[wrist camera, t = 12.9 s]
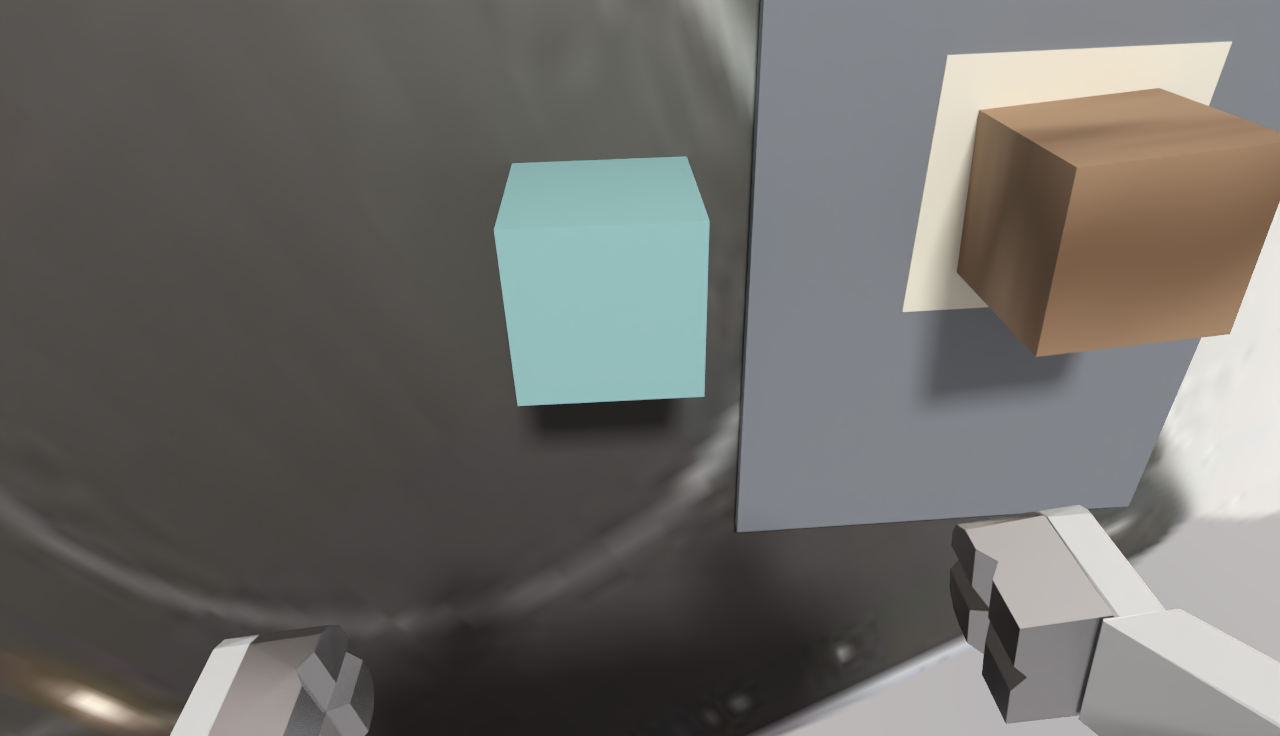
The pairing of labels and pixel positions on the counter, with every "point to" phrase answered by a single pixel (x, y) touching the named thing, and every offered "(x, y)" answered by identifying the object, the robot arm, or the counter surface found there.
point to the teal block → (604, 280)
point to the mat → (943, 256)
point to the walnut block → (1116, 218)
